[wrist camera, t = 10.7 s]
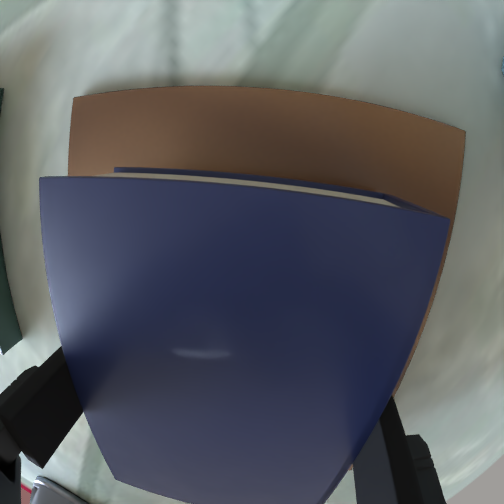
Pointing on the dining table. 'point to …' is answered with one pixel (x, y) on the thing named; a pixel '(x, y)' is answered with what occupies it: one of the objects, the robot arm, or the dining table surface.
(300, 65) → the dining table surface
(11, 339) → the green notebook
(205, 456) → the navy book
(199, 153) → the brown wooden board
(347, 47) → the dining table surface
